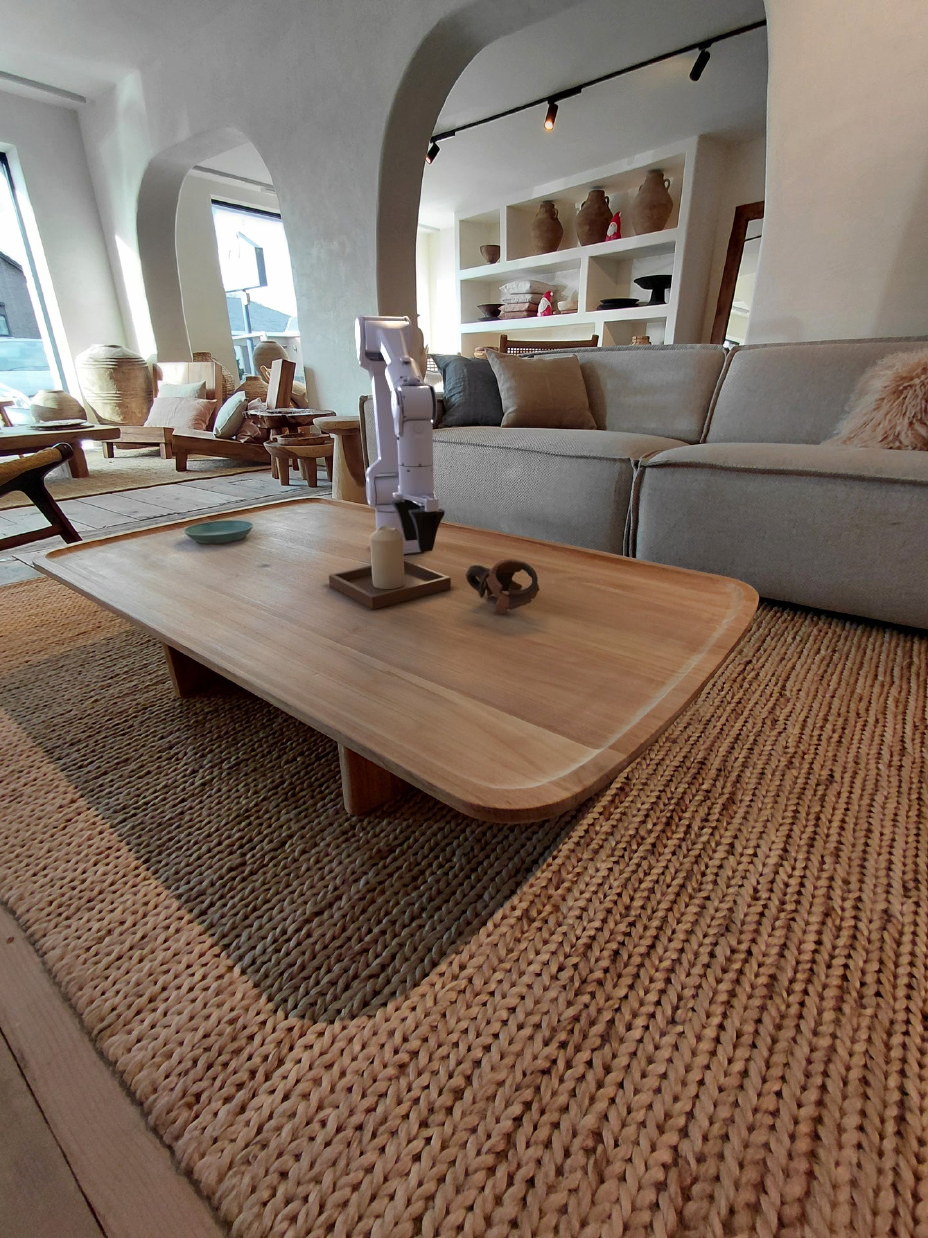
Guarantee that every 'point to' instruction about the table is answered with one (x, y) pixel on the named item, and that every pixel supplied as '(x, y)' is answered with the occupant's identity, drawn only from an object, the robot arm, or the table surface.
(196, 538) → the saucer
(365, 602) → the tray
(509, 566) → the leather belt
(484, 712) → the table surface
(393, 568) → the candle
